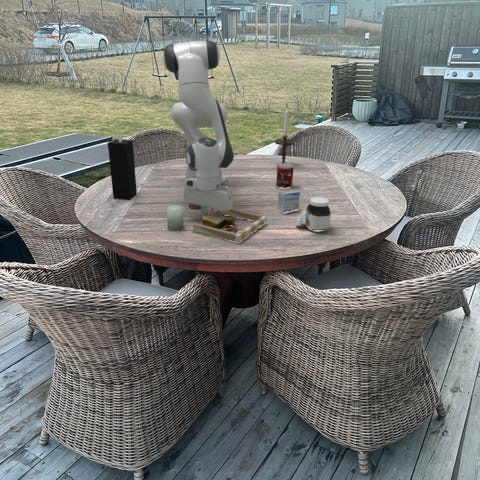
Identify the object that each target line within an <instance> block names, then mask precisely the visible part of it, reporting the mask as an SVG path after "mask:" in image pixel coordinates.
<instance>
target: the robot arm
mask: <svg viewBox="0 0 480 480" xmlns="http://www.w3.org/2000/svg"><path fill="white" fill-rule="evenodd" d="M220 52H221V51H220V49H219V47H218V45H217V43H216V42H215V41H212V40H206V41H205V40H190V41H186V42H185V41H183V42H177V43H170V44H168V45H165V47H164V49H163V53H162V62H163V64H164V66H165V68H166V71H168V72H169V73H173V74H175V75H176V74H177V75H178V78H177V79H178V80H177V81H178V90H179V92H178V93H179V97H180V101H178V102H175V103H174V104H173V106H172V108H171V111H170V116H171V119H172V121H173V123H175V124H176V125H177V126H178V127H179V128H180V129H181V130H182V131H183V134H184V135H185V137H186V142H187V148H186V149H185V160H186V165H187V166H186V168H185V169H186V171H185V178H184V180H183V182H184V189H183V200H184V201H185V202H186V203H188V204H189V203H191V204H196V205H200V206H201V209H200V210H202V212H203V217H204V216H205V215H207V214H213V212H214V211H215V210H217V211H221V212H222V211H229V210H230V209H233V197H232V196H233V193H232V190H231V188H229V186H225V185H224V186H223V184H224V183H225V182H226V181H227V177H225V176H223V172H222V169H226V168H228V167H229V166H230V165H231V164H232V163H233V162H234V159H235V157H234V156H235V155H234V154H235V153H234V149H233V147H232V143H231V141H230V137H229V134H228V130H227V127H226V122H227V120H228V110H227V108H226V106H225V105H224V104H223V103H221V102H220V101H218V99H217V98H215V96H214V95H213V93H212V91H211V89H210V88H211V87H210V84H209V77H208V70H209V71H210V70H214V69H217V68H218V67H217V66H219V62H220V60H221V54H220ZM200 127H201V128H202V127H203V128H213V131H214V135H215V138H216V139H214V138H211V137H210V136H208V135H207V134H205V133H203V132H202V131H201V130H200ZM223 182H224V183H223Z"/></svg>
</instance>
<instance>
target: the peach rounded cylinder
mask: <svg viewBox="0 0 480 480" xmlns="http://www.w3.org/2000/svg"><path fill="white" fill-rule="evenodd" d="M188 209H190V210H191V211H192V210H193V211H200V210H202V209H201V206H200V205H196V204H191V203H188Z"/></svg>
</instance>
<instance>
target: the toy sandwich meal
mask: <svg viewBox="0 0 480 480" xmlns="http://www.w3.org/2000/svg"><path fill="white" fill-rule="evenodd" d="M236 220H237V218H229V217H228V218H227V217H224V216H223V215H220V214H217V215H216V214H214V213H212V214H207V215H205V216H204V215H203V217H202V220H201V222H200V225H204V226H208V227H212V228H216V229H220V230H224V231H228V232H233V233H235V232H236V231H237V229H238V225H237V224H236V223H235V222H236ZM230 225H233V226H230Z"/></svg>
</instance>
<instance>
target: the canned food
mask: <svg viewBox="0 0 480 480" xmlns="http://www.w3.org/2000/svg"><path fill="white" fill-rule="evenodd" d="M280 163H281V164H278V163H277V164H278V165H277V168H276V183H275V185H276V187H277V186H278V187H283V188H287V187H291V186H292V187H293V183H294V182H293V181H294V180H293V179H294V164H291V163H288V162H287V163H286V162H285V163H282V162H280Z"/></svg>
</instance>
